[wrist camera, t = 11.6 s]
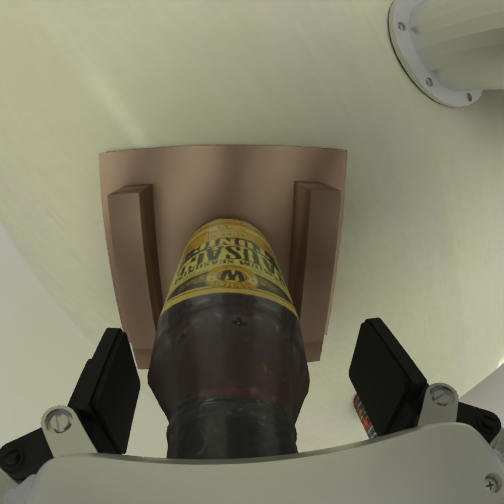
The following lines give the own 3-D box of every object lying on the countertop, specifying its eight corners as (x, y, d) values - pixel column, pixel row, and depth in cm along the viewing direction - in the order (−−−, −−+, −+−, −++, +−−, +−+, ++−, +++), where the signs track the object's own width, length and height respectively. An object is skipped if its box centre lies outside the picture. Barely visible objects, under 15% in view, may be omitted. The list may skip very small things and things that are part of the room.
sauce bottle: (272, 215, 22) (454, 476, 3) (263, 292, 24) (347, 555, 5) (181, 209, 21) (70, 512, 2) (179, 289, 23) (144, 567, 5)
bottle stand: (339, 149, 22) (372, 153, 17) (321, 325, 28) (341, 362, 23) (105, 152, 20) (75, 156, 15) (129, 332, 26) (115, 372, 21)
